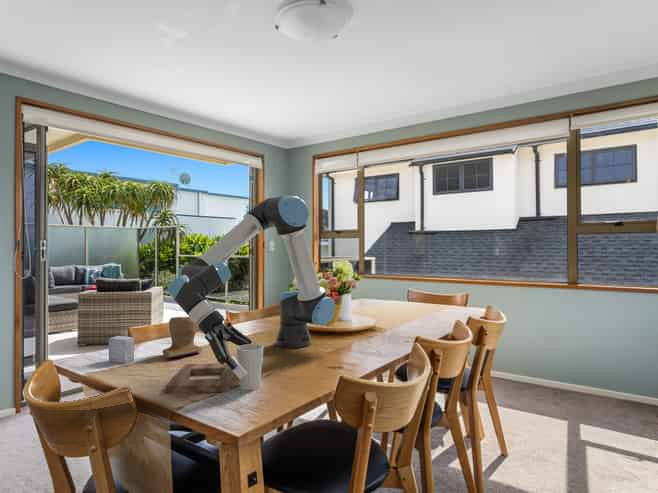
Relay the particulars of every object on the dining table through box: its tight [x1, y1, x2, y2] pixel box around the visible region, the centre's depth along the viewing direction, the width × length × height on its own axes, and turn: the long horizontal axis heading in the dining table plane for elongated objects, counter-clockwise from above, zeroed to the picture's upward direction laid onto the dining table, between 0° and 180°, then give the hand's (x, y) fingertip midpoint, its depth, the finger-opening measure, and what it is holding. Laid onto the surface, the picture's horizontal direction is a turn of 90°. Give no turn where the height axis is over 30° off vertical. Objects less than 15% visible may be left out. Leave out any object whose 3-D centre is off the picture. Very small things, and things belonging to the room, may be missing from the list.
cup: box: [236, 343, 264, 391], centre depth 125 cm, size 8×8×12 cm
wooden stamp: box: [161, 316, 203, 359], centre depth 160 cm, size 15×12×15 cm
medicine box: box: [108, 335, 135, 364], centre depth 150 cm, size 8×4×9 cm, turn 71°
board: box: [164, 362, 237, 394], centre depth 130 cm, size 18×22×2 cm
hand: (252, 369), depth 124 cm, fingers open, 13 cm apart
